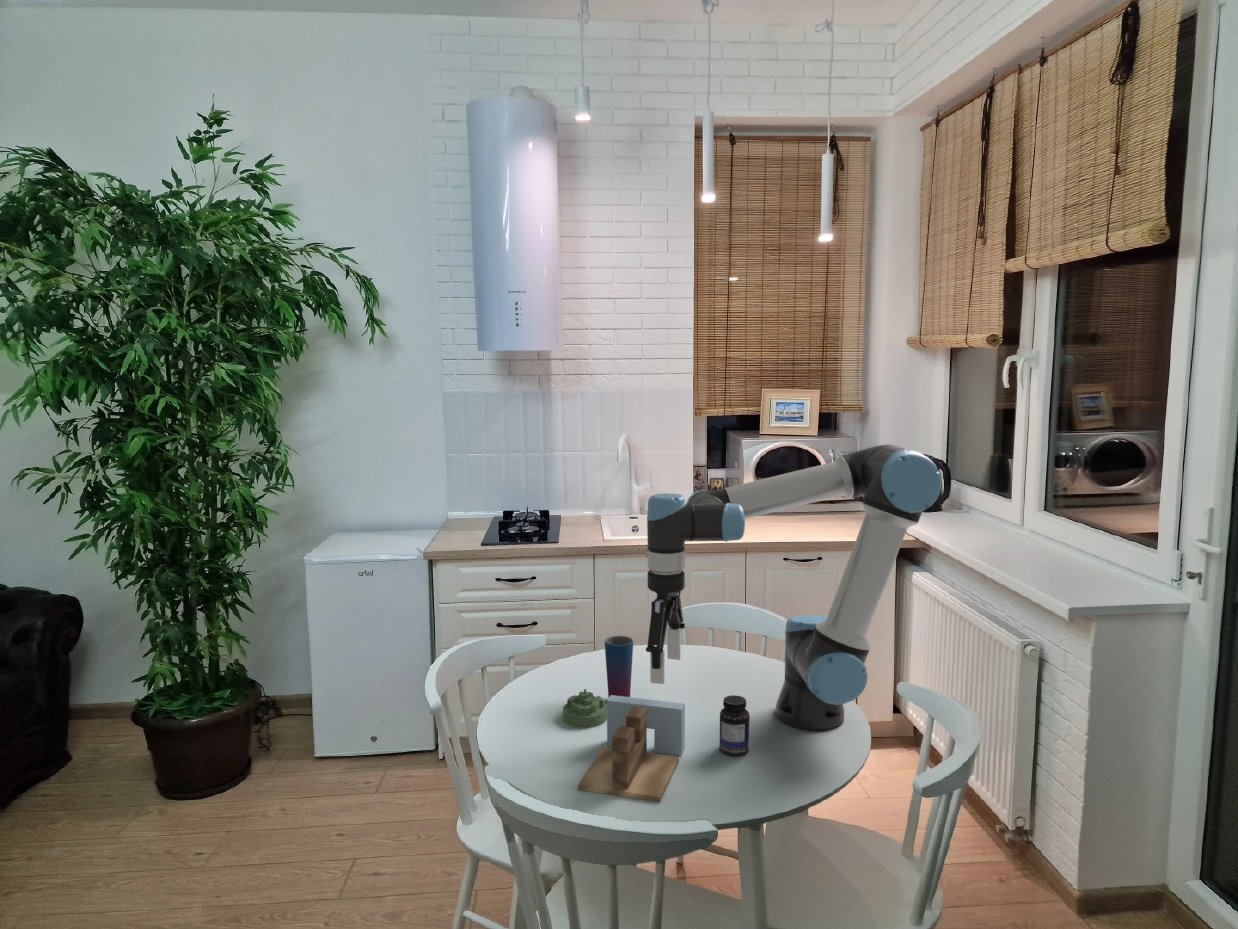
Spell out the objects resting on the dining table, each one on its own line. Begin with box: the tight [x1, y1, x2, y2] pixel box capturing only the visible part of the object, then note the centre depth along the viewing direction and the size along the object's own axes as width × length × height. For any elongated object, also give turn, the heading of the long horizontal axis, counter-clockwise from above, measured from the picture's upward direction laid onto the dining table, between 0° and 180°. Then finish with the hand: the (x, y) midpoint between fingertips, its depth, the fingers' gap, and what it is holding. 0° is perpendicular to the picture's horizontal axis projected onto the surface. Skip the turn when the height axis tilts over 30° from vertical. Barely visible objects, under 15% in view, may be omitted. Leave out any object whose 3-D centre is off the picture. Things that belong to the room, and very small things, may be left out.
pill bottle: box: [719, 694, 751, 757], centre depth 173 cm, size 6×6×11 cm
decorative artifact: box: [562, 688, 607, 729], centre depth 189 cm, size 10×7×10 cm
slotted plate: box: [606, 695, 686, 757], centre depth 174 cm, size 16×3×10 cm, turn 74°
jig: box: [577, 706, 680, 803], centre depth 163 cm, size 16×16×11 cm
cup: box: [604, 635, 634, 698], centre depth 197 cm, size 7×7×15 cm
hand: (666, 670), depth 172 cm, fingers open, 13 cm apart
